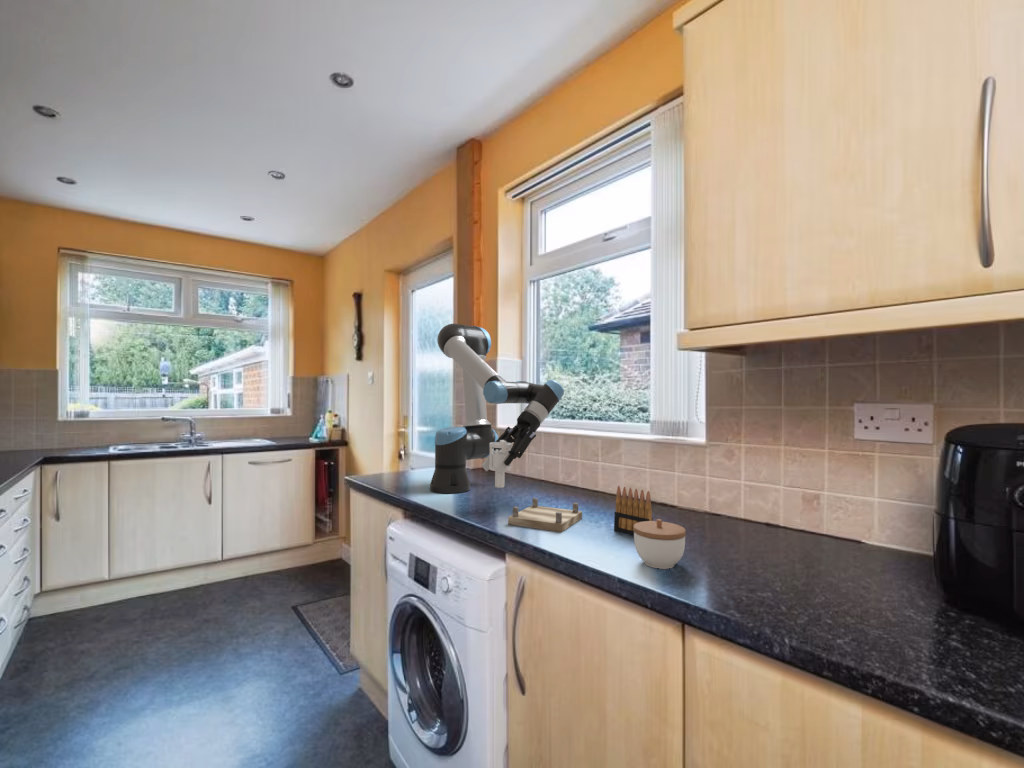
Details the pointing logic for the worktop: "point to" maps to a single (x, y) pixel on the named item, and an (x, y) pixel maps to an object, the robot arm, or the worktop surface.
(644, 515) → the ammunition clip
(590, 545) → the worktop surface
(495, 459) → the white stemmed cylinder
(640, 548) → the lidded jar
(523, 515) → the board
